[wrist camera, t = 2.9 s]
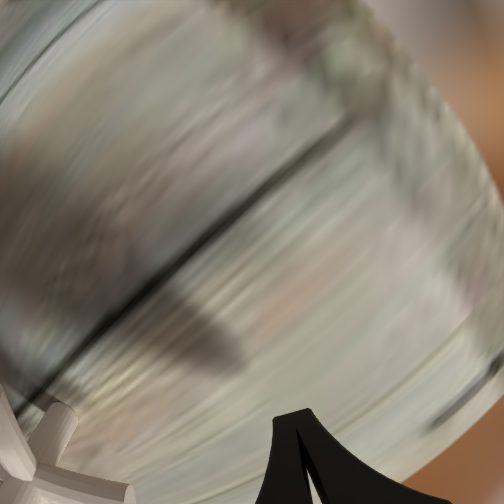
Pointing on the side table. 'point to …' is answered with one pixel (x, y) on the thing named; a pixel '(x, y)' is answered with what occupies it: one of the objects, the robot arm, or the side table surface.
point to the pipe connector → (48, 463)
